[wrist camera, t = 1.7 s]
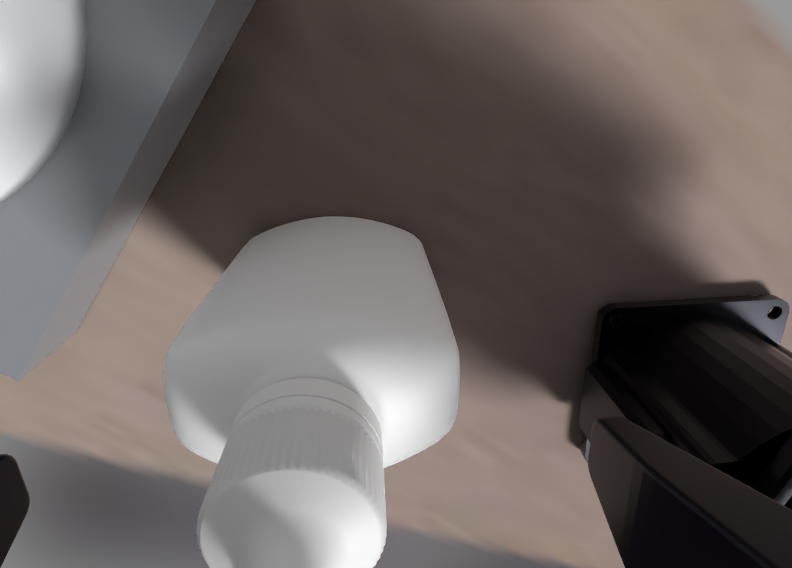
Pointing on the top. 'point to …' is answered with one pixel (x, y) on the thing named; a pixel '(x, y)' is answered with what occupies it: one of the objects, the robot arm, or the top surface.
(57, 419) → the top surface
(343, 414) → the eye dropper bottle
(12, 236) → the dial scale
